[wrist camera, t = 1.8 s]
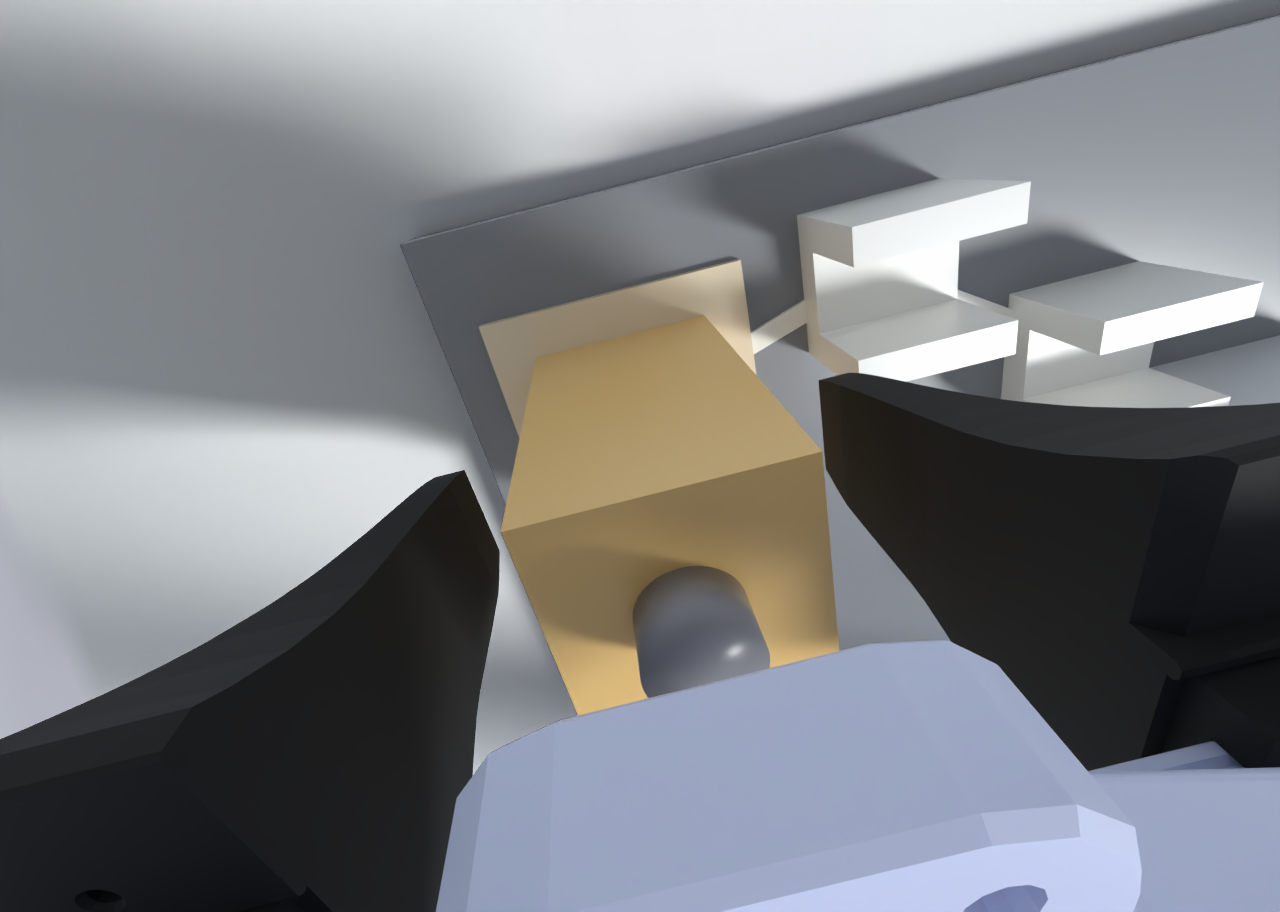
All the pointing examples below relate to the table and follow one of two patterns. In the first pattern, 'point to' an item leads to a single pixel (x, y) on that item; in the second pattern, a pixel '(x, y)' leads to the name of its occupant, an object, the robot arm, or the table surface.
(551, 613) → the connector plug
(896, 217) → the cable board
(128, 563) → the table surface
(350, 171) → the table surface
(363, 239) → the table surface
